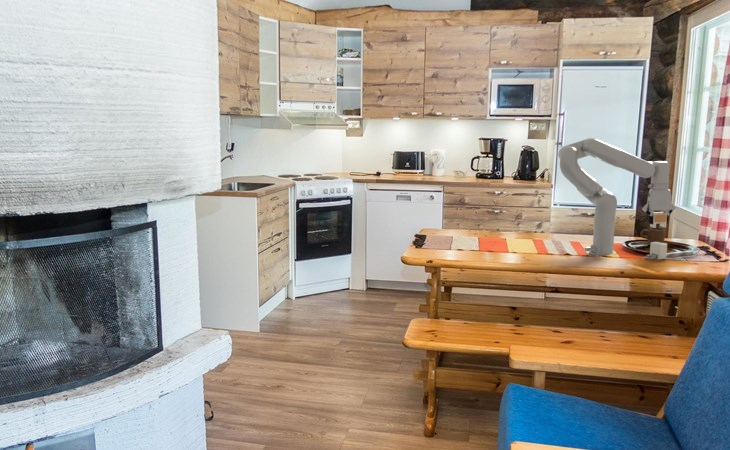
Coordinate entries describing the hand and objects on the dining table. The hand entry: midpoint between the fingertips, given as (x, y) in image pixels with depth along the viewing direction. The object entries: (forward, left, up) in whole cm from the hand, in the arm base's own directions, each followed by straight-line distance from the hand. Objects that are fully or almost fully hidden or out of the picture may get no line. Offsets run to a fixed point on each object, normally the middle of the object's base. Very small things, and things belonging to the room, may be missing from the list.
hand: (658, 223), depth 279 cm
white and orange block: (0, 0, -2) cm, 2 cm away
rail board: (0, -8, -16) cm, 18 cm away
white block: (-7, -8, -15) cm, 18 cm away
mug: (+14, +18, -16) cm, 28 cm away
